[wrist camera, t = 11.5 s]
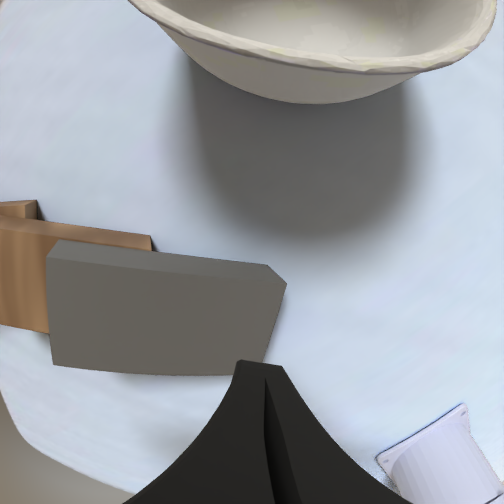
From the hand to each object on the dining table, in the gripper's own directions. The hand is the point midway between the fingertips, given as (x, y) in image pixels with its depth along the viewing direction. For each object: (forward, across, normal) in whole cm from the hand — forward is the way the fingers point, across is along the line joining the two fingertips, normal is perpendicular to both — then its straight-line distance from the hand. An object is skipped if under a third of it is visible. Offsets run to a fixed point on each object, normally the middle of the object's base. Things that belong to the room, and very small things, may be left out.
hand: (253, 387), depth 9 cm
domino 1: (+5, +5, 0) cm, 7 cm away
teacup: (+6, +2, -15) cm, 16 cm away
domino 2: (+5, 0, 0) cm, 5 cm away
